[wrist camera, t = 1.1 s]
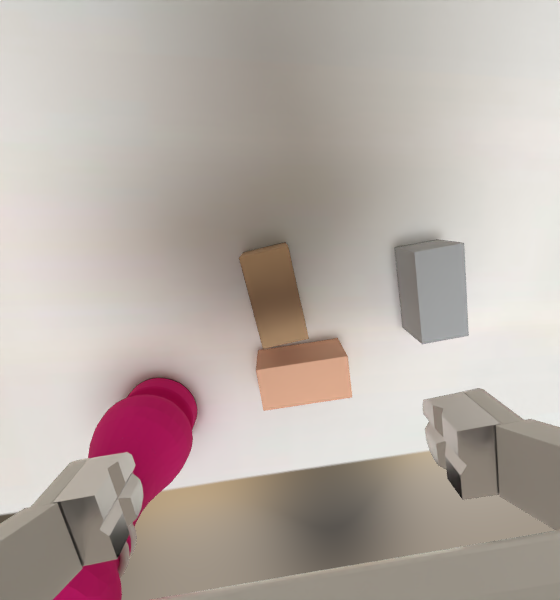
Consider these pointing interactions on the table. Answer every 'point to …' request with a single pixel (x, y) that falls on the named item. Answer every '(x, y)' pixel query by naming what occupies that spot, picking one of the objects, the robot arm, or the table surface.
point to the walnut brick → (274, 295)
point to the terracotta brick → (303, 374)
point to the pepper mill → (138, 465)
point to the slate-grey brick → (433, 290)
